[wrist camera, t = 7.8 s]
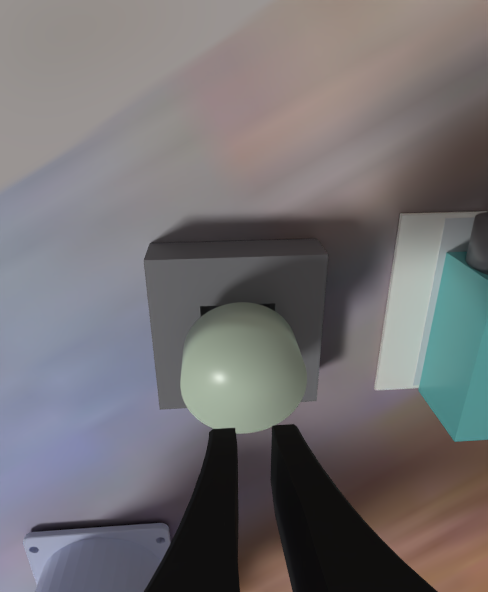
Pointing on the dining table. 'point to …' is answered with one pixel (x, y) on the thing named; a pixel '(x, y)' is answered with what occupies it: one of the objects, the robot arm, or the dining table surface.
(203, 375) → the button
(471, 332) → the teal capped block
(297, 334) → the button base
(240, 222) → the dining table surface
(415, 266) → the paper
